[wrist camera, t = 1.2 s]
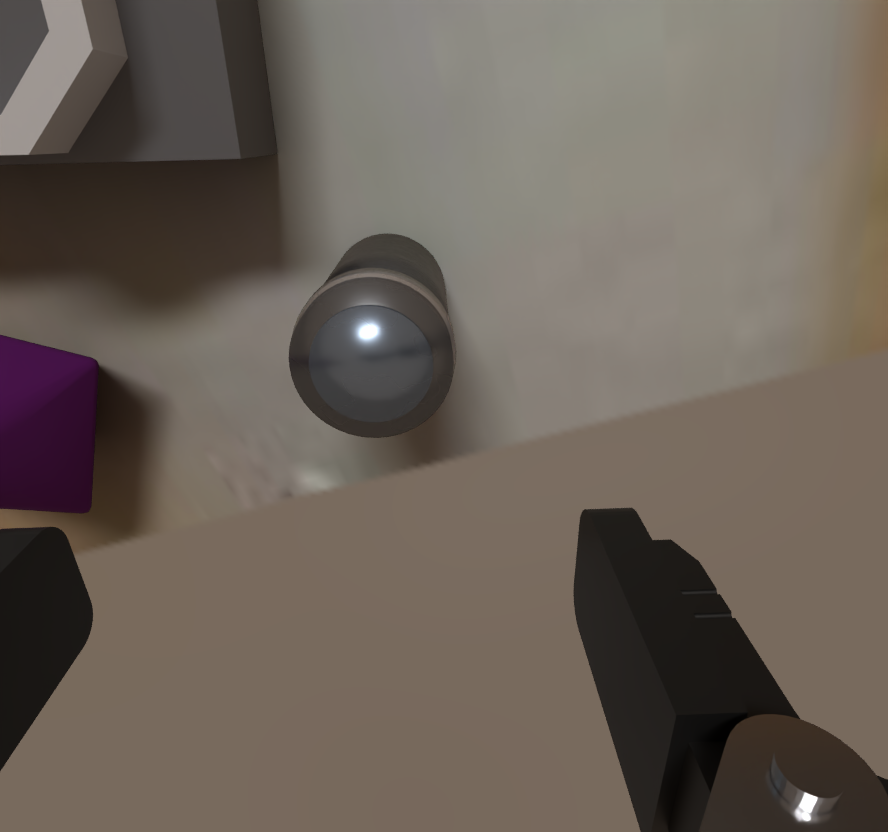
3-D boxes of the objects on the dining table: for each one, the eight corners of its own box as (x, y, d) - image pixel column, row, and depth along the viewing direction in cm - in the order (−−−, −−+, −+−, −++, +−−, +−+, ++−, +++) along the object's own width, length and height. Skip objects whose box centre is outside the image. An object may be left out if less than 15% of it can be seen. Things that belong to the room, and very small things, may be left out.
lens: (446, 229, 24) (456, 277, 16) (448, 344, 26) (458, 440, 18) (324, 232, 24) (272, 283, 16) (337, 348, 26) (296, 445, 18)
